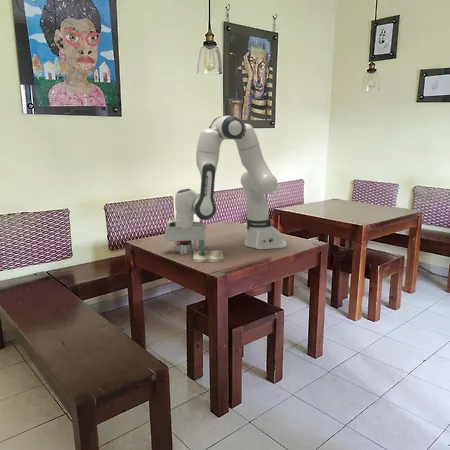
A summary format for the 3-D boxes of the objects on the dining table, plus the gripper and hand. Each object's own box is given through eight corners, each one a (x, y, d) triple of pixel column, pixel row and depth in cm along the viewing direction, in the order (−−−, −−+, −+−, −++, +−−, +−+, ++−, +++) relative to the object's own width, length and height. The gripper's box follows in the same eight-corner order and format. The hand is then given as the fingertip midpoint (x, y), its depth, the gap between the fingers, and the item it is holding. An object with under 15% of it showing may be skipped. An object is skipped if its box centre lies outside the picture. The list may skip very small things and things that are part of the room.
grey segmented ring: (191, 250, 212) (191, 241, 211) (191, 254, 206) (191, 245, 205) (179, 250, 212) (179, 242, 211) (178, 254, 206) (178, 245, 205)
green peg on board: (221, 253, 207) (221, 236, 205) (223, 261, 194) (223, 244, 192) (193, 253, 206) (193, 237, 204) (193, 262, 193) (192, 244, 191)
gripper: (205, 220, 209) (206, 246, 212) (164, 221, 208) (165, 247, 211) (206, 223, 203) (206, 250, 206) (163, 223, 202) (164, 251, 205)
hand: (185, 248), depth 209 cm, fingers closed on grey segmented ring, 6 cm apart
